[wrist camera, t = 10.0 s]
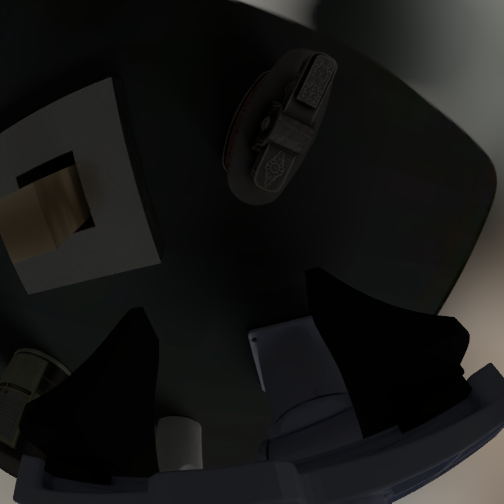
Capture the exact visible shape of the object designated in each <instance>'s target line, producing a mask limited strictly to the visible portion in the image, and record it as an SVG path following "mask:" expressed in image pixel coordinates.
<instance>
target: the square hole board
mask: <svg viewBox="0 0 504 504" xmlns="http://www.w3.org/2000/svg"><path fill="white" fill-rule="evenodd" d="M71 152H73V155H74V159H75V162H76V166H77V170H78V173H79V177H80V180H81V184H82V187H83V190H84V193H85V197H86V200H87V203H88V206H89V209H90V212H91V215H92V218H93V219H92V220H89V221H86V222H84V223H83V224H82V225H81V226H80V227H79V228H78V229H77V230H76V231H75V232H74V233H73V234H72V235H71V236H70V237H69V238H68V239H67V240H66V241H65V242H64V243H63V244H62V245H61V246H60V247H59V248H58V249H57V250H54V251H51V252H48V253H45V254H42V255H39V256H35V257H32V258H29V259H26V260H23V261H20V262H17V263H15V264H14V267H15V269H16V271H17V273H18V275H19V277H20V279H21V281H22V283H23V285H24V287H25V289H26V291H27V293H28V294H33V293H37V292H41V291H45V290H49V289H53V288H57V287H61V286H65V285H70V284H74V283H78V282H82V281H86V280H90V279H95V278H99V277H103V276H107V275H111V274H116V273H120V272H124V271H128V270H133V269H137V268H141V267H146V266H150V265H154V264H158V263H161V262H162V258H163V255H164V252H165V248H166V247H165V244H164V241H163V238H162V235H161V232H160V229H159V225H158V222H157V219H156V216H155V212H154V209H153V206H152V202H151V199H150V195H149V192H148V188H147V185H146V181H145V177H144V174H143V170H142V166H141V162H140V158H139V154H138V150H137V146H136V142H135V138H134V134H133V129H132V125H131V121H130V116H129V111H128V107H127V102H126V97H125V92H124V87H123V82H122V81H121V80H118V79H116V78H113V77H109V78H107V79H104V80H101V81H99V82H97V83H94V84H92V85H89V86H87V87H85V88H82V89H80V90H78V91H76V92H74V93H71V94H69V95H67V96H65V97H63V98H61V99H59V100H57V101H55V102H53V103H51V104H49V105H47V106H45V107H43V108H42V109H40V110H38V111H36V112H34V113H33V114H31V115H29V116H27V117H26V118H24V119H22V120H21V121H19V122H17V123H16V124H14V125H13V126H11V127H9V128H8V129H6V130H5V131H3V132H2V133H0V199H2V198H3V197H5V196H7V195H9V194H11V193H13V192H15V191H17V190H19V189H21V188H23V187H25V186H27V185H29V184H31V183H33V182H35V178H34V175H33V171H32V170H34V169H36V168H38V167H40V166H42V165H44V164H47V163H49V162H51V161H53V160H55V159H57V158H60V157H62V156H64V155H66V154H69V153H71Z"/></svg>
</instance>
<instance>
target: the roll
mask: <svg viewBox="0 0 504 504" xmlns="http://www.w3.org/2000/svg"><path fill="white" fill-rule="evenodd" d="M156 452H157V460H158V466H159V471H160V472H165V471H174V470H191V469H203V464H202V446H201V425H200V424H199V423H198V422H196V421H194V420H192V419H190V418H187V417H182V416H168V417H163V418H161V419H159V421H158V427H157V439H156Z"/></svg>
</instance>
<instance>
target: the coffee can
mask: <svg viewBox="0 0 504 504" xmlns="http://www.w3.org/2000/svg"><path fill="white" fill-rule="evenodd" d="M71 374H72V373H71V372H70V371H69V370H68V369H67V368H66V367H65V366H64V365H63V364H62V363H60V362H59V361H58V360H56V359H55V358H53V357H52V356H50V355H48V354H46V353H44V352H42V351H39V350H36V349H32V348H21V349H18V350H17V351H16V352H15V353H14V355H13V358H12V360H11V361H10V363H9V365H8V367H7V369H6V370H5V372H4V374H3V376H2V378H1V380H0V468H1V469H2V470H3V471H5V472H7V473H9V474H10V475H12V476H13V477H15V478H17V476H18V471H19V467H20V463H21V459H22V455H28V456H32V457H36V458H40V459H42V460H44V461H46V459H47V455H46V454H44V453H43V452H42V451H41V450H39V449H38V448H37V447H36V446H34V445H33V444H32V443H31V442H29V441H28V440H27V439H26V438H25V437H24V436H23V435H22V433H21V432H20V430H19V427H18V426H19V422H20V419H21V417H22V414H23V411H24V408H25V405H26V403H28V402H30V401H32V400H34V399H36V398H38V397H39V396H41V395H43V394H45V393H46V392H48V391H49V390H51V389H52V388H54V387H55V386H57V385H58V384H59V383H61V382H62V381H63V380H65V379H66V378H67V377H68V376H69V375H71Z"/></svg>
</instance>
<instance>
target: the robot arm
mask: <svg viewBox="0 0 504 504" xmlns="http://www.w3.org/2000/svg"><path fill="white" fill-rule="evenodd" d="M305 274H306V285H307V296H308V308H309V310H310V313H311V315H310V316H306V317H302V318H298V319H294V320H290V321H286V322H282V323H278V324H274V325H270V326H266V327H261V328H257V329H253V330H250V331H249V332H248V339H249V342H250V346H251V350H252V354H253V357H254V361H255V365H256V368H257V372H258V376H259V379H260V383H261V386H262V390H263V391H265V392H266V396H267V401H268V405H269V409H270V414H271V418H272V422H273V425H272V426H269V427H267V432H268V437H269V439H267V440H264V441H263V442H261V444H260V447H259V450H258V452H257V457H256V461H255V462H249V463H243V464H236V465H229V466H222V467H213V468H203V469H191V470H174V471H165V472H160V471H159V466H158V460H157V452H156V444H155V432H154V396H155V388H156V380H157V372H158V364H159V340H158V338H157V336H156V334H155V332H154V330H153V328H152V326H151V324H150V321H149V319H148V317H147V315H146V313H145V311H144V309H143V307H138V308H133V309H130V310H129V311H128V312H127V313H126V314H125V315H124V317H123V318H122V319H121V320H120V322H119V323H118V324H117V325H116V327H115V328H114V329H113V330H112V331H111V333H110V334H109V335H108V336H107V338H106V339H105V340H104V341H103V342H102V343H101V345H100V346H99V347H98V348H97V349H96V350H95V352H94V353H93V354H92V355H91V356H90V357H89V358H88V359H87V360H86V361H85V362H84V363H83V364H82V365H81V366H80V367H79V368H78V369H77V370H75V371H74V372H73V373H72V374H71V375H69V376H68V377H67V378H66V379H65V380H63V381H62V382H61V383H59V384H58V385H57V386H55V387H54V388H52V389H51V390H49V391H48V392H46V393H45V394H43V395H41V396H39V397H38V398H36V399H34V400H32V401H30V402H28V403H26V405H25V408H24V411H23V414H22V417H21V419H20V422H19V426H18V427H19V430H20V432H21V433H22V435H23V436H24V437H25V438H26V439H27V440H28V441H29V442H31V443H32V444H33V445H34V446H36V447H37V448H38V449H39V450H41V451H42V452H43V453H44V454H46V455H47V459H46V461H44V460H42V459H40V458H36V457H32V456H28V455H22V459H21V463H20V467H19V471H18V476H17V481H16V485H15V490H14V495H13V500H14V501H15V502H17V503H19V504H392V502H394V501H396V500H399V499H401V498H402V497H405V496H406V495H408V494H410V493H412V492H414V491H416V490H418V489H419V488H421V487H423V486H425V485H426V484H428V483H430V482H431V481H433V480H435V479H436V478H438V477H440V476H441V475H443V474H444V473H446V472H447V471H449V470H450V469H452V468H453V467H455V466H456V465H458V464H459V463H461V462H462V461H463V460H465V459H466V458H468V457H469V456H470V455H472V454H473V453H475V452H476V451H477V450H479V449H480V448H481V447H483V446H484V445H485V444H486V443H488V442H489V441H490V440H492V439H493V438H494V437H495V436H496V435H497V434H498V433H499V432H500V431H501V430H502V428H504V378H503V376H502V375H501V374H500V373H499V371H498V370H497V369H496V368H495V366H494V365H493V364H492V363H489V364H487V365H486V366H485V367H483V368H482V369H480V370H478V371H477V372H476V373H474V374H473V375H471V376H470V377H469V378H468V379H467V381H466V380H465V378H464V377H463V376H462V375H463V374H464V369H463V368H462V367H461V365H460V363H461V361H462V359H463V357H464V355H465V352H466V350H467V348H468V344H469V338H470V335H469V333H468V331H467V330H466V329H465V328H464V327H463V326H462V325H461V323H460V322H459V321H458V320H457V319H456V318H455V317H448V316H438V315H430V314H425V313H419V312H415V311H410V310H406V309H403V308H400V307H396V306H393V305H390V304H387V303H385V302H382V301H380V300H377V299H375V298H372V297H370V296H368V295H366V294H364V293H362V292H360V291H358V290H356V289H354V288H352V287H351V286H349V285H347V284H345V283H344V282H342V281H340V280H339V279H337V278H335V277H334V276H332V275H331V274H329V273H327V272H326V271H324V270H323V269H321V268H319V267H317V268H313V269H309V270H305ZM252 338H256V339H252Z"/></svg>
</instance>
